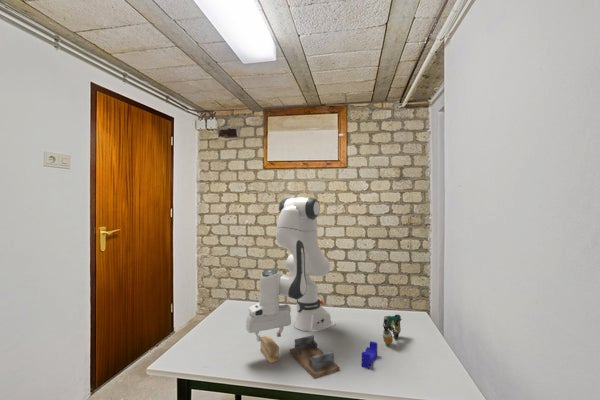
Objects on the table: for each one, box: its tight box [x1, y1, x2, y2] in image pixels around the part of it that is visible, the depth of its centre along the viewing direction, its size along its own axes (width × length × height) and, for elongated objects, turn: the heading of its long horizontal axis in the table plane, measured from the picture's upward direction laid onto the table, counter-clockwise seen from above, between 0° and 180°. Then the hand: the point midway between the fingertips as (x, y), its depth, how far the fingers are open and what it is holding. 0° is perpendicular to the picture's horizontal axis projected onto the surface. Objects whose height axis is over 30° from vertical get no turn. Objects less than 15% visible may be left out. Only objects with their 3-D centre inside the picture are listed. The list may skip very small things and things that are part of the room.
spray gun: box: [382, 314, 402, 345], centre depth 145 cm, size 4×17×15 cm, turn 137°
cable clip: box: [361, 341, 378, 370], centre depth 129 cm, size 12×4×6 cm, turn 150°
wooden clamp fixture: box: [289, 334, 341, 379], centre depth 128 cm, size 12×22×6 cm, turn 27°
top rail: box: [260, 335, 280, 364], centre depth 133 cm, size 4×12×6 cm, turn 27°
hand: (268, 338), depth 133 cm, fingers open, 8 cm apart
